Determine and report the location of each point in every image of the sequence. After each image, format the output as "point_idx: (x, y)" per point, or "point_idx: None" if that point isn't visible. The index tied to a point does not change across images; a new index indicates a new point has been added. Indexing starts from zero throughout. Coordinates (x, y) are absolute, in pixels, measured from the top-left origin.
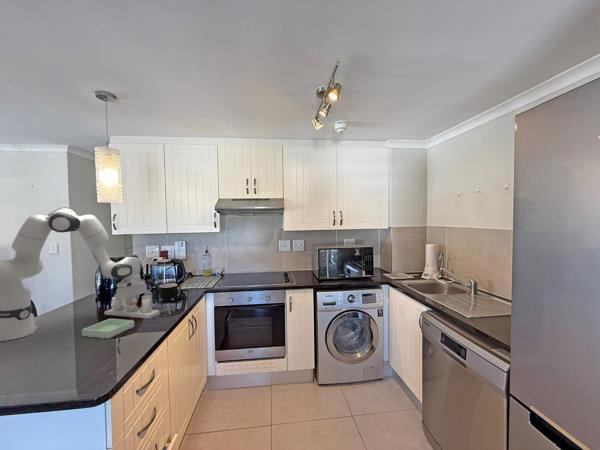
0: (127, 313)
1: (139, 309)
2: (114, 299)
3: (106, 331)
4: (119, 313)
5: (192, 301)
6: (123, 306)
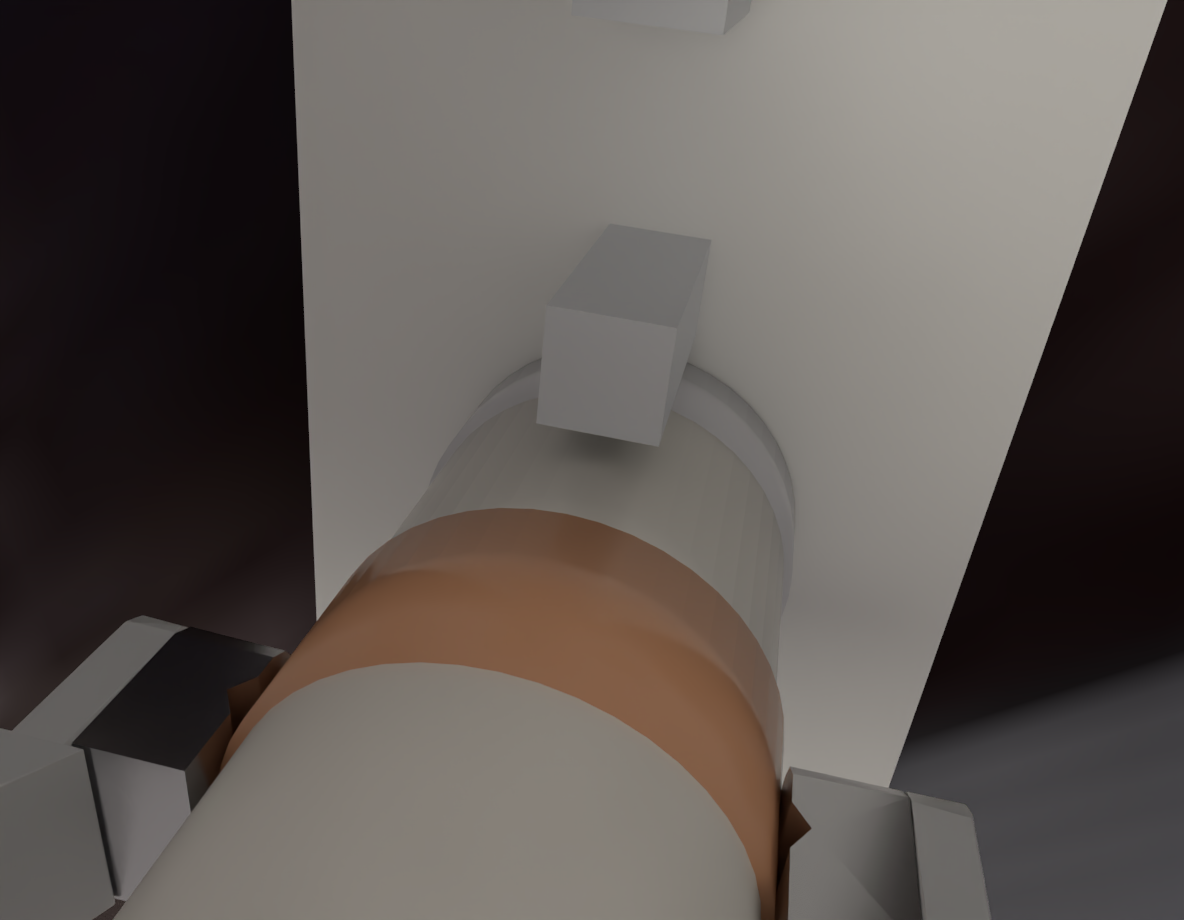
0: (315, 490)
1: (832, 693)
2: None
3: None
4: (313, 66)
5: None
6: (626, 14)
